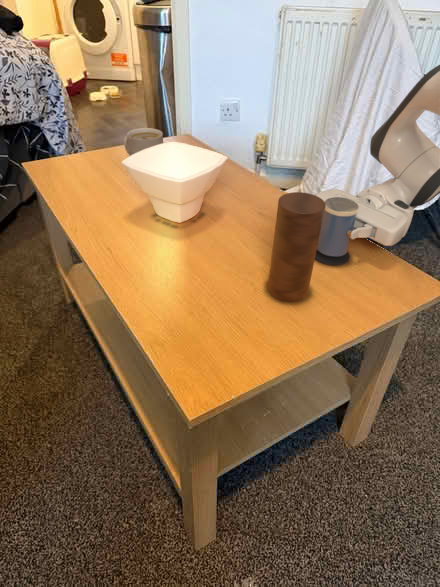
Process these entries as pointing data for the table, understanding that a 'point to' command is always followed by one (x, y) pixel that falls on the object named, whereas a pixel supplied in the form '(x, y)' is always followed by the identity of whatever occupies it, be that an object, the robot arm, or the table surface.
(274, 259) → the stand
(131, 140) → the coffee mug
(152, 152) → the bowl
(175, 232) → the table surface
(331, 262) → the coaster
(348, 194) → the robot arm
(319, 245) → the tumbler
